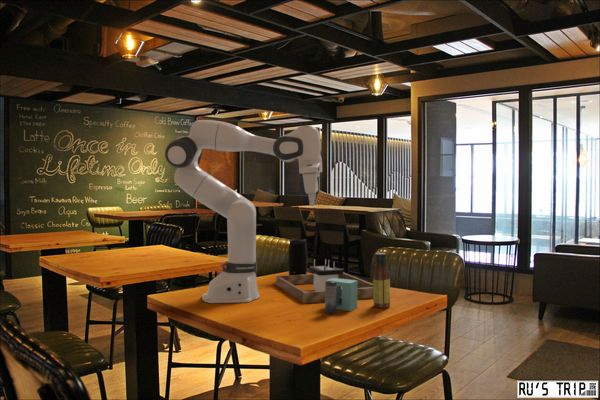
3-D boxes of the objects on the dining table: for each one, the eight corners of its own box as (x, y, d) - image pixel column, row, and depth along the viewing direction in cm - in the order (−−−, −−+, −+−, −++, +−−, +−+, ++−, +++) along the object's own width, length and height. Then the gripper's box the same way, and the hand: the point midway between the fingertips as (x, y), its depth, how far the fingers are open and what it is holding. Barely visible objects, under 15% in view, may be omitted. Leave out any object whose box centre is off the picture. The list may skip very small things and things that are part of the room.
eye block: (350, 311, 172) (350, 283, 171) (325, 307, 177) (325, 280, 176) (357, 307, 177) (357, 280, 177) (332, 304, 182) (332, 277, 181)
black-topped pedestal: (368, 296, 196) (369, 264, 196) (309, 301, 187) (310, 267, 187) (338, 283, 223) (338, 254, 222) (285, 287, 213) (285, 257, 213)
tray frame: (304, 303, 183) (304, 292, 183) (275, 285, 216) (276, 276, 216) (381, 297, 194) (381, 287, 194) (343, 280, 228) (343, 272, 228)
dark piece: (333, 315, 166) (333, 283, 166) (322, 313, 168) (323, 282, 168) (351, 305, 180) (351, 276, 179) (341, 304, 182) (341, 275, 181)
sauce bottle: (388, 304, 183) (389, 252, 182) (391, 308, 176) (392, 254, 176) (371, 304, 182) (371, 252, 182) (374, 308, 176) (374, 254, 176)
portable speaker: (298, 283, 220) (298, 240, 219) (284, 280, 227) (284, 239, 226) (311, 281, 226) (311, 239, 225) (297, 278, 233) (297, 237, 232)
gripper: (304, 169, 193) (306, 203, 194) (300, 168, 173) (302, 207, 174) (320, 168, 193) (322, 202, 194) (317, 167, 172) (319, 206, 173)
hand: (312, 204), depth 183 cm, fingers open, 8 cm apart
